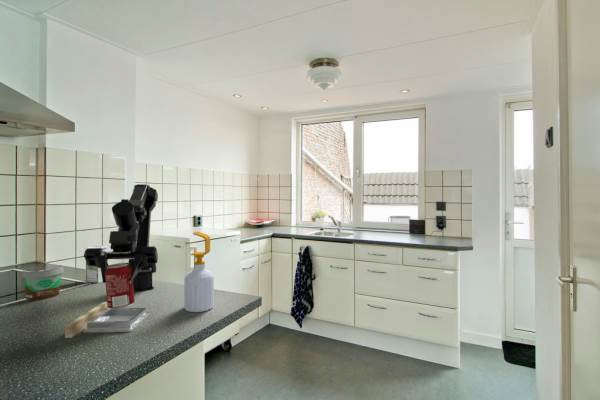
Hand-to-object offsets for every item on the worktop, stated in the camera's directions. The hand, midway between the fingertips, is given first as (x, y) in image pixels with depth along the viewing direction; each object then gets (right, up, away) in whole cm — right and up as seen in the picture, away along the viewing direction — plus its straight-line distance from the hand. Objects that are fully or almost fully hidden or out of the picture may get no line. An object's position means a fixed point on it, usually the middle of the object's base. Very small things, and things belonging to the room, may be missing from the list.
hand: (117, 281), depth 90 cm
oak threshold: (-9, -12, +1) cm, 15 cm away
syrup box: (-34, -11, +44) cm, 57 cm away
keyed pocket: (0, -12, +1) cm, 12 cm away
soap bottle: (+18, -12, +14) cm, 26 cm away
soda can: (0, -8, +1) cm, 8 cm away
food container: (-38, -12, +23) cm, 46 cm away
